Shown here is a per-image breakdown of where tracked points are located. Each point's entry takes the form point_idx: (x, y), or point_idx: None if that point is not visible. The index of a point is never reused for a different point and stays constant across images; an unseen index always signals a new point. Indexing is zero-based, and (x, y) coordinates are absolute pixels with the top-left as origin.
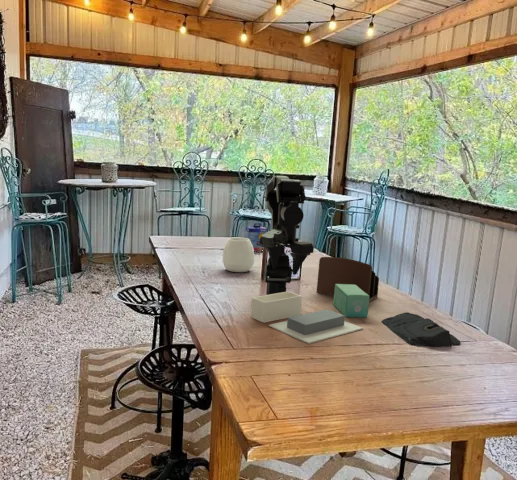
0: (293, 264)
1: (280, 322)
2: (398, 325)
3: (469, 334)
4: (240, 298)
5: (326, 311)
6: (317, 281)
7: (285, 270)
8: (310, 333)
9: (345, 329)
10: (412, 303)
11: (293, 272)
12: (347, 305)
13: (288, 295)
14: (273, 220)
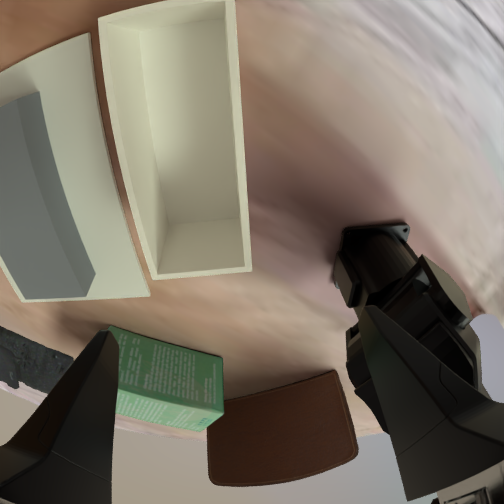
0: (62, 400)
1: (91, 91)
2: (22, 353)
3: (24, 392)
4: (449, 150)
5: (61, 281)
6: (343, 394)
7: (363, 362)
8: None
9: None
10: (174, 433)
11: (93, 342)
12: None
13: (241, 254)
14: None
